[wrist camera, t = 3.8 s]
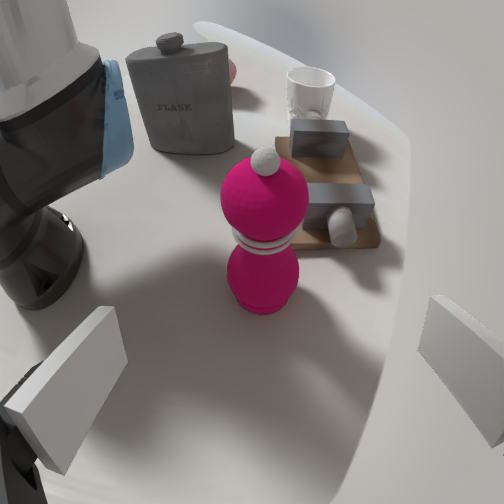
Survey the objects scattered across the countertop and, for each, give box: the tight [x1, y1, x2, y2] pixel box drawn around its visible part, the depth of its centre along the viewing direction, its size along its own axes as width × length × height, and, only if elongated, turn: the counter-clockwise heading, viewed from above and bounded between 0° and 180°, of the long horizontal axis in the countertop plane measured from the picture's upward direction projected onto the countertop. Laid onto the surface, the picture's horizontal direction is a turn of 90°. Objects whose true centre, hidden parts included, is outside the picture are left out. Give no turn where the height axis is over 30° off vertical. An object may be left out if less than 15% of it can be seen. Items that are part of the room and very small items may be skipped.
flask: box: [125, 32, 235, 155], centre depth 38 cm, size 15×6×20 cm, turn 79°
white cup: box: [287, 67, 336, 127], centre depth 45 cm, size 8×8×10 cm
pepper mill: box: [221, 147, 309, 315], centre depth 25 cm, size 7×7×20 cm
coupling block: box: [275, 110, 381, 250], centre depth 38 cm, size 12×23×6 cm, turn 1°
